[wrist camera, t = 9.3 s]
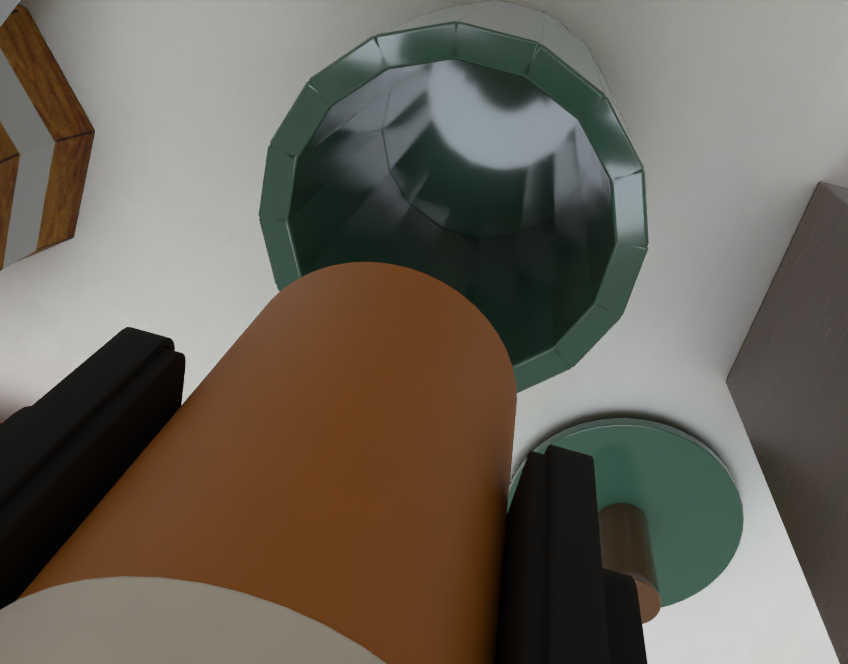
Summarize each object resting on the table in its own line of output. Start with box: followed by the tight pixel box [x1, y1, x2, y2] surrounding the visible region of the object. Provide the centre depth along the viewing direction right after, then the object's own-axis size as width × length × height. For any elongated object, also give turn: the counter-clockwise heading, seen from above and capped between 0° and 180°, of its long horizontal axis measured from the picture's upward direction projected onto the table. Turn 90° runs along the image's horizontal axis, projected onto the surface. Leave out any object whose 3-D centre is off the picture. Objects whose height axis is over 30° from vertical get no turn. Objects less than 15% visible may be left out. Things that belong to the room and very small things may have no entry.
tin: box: [259, 0, 648, 393], centre depth 25 cm, size 10×10×12 cm
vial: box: [0, 262, 517, 664], centre depth 9 cm, size 5×5×8 cm
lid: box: [507, 418, 744, 624], centre depth 34 cm, size 11×11×6 cm
